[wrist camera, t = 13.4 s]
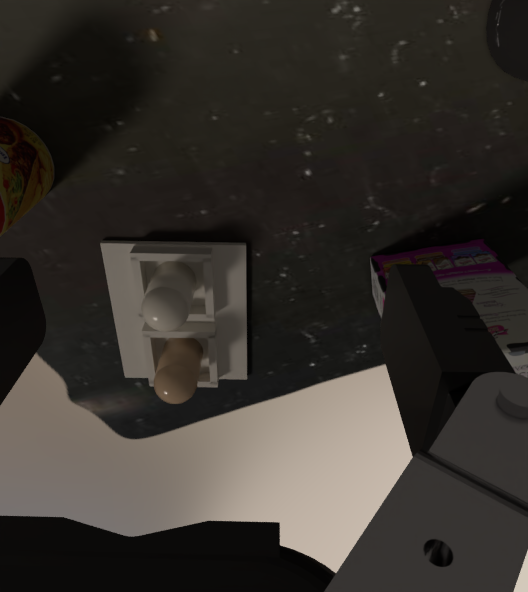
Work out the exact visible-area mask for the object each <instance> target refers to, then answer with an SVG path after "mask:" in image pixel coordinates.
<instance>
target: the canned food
mask: <svg viewBox="0 0 528 592" xmlns="http://www.w3.org/2000/svg"><path fill="white" fill-rule="evenodd" d="M53 181H54V164H53V160H52V156H51V154H50V152H49V150H48V149H47V147H46V145H45V144H44V142H43V141H42V140H41V139H40V138H39V136H38V135H37V134H36V133H35V132H33V131H32V130H31V129H29V128H28V127H27V126H25V125H23V124H21V123H19V122H17V121H15V120H13V119H8V118H4V117H0V236H1V235H2V234H3V233H5V232H6V231H7V230H8V229H9V228H10V227H11V226H12V225H14V224H15V223H16V222H17V221H18V220H19V219H20V218H21V217H22V216H24V215H25V214H26V213H27V212H28V211H29V210H30V209H31V208H32V207H34V206H35V205H36V204H37V203H38V202H39V201H40V200H41V199H43V198H44V197H45V196H46V194H47V193H48V192H49V190H50V189H51V187H52V184H53Z"/></svg>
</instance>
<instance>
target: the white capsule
mask: <svg viewBox="0 0 528 592" xmlns="http://www.w3.org/2000/svg"><path fill="white" fill-rule="evenodd" d="M196 283H197V280H196V276H195V273H194V272H193V270H192V269H191V268H190V267H189V266H187V265H186V264H184V263H182V262H178V261H167V262H164V263H162V264H160V265H159V266H157V268H156V269H155V270H154V273H153V275H152V278H151V280H150V283H149V285H148V288H147V290H146V293H145V295H144V298H143V300H142V305H141V311H142V315H143V318H144V320H145V321H146V323H147V324H148V325H149V326H151V327H152V328H154V329H155V330H158V331H163V332H168V331H173V330H176V329H178V328H179V327H181V326H182V325H183V324H184V323H185V322H186V320H187V319H188V316H189V313H190V309H191V305H192V301H193V297H194V292H195V288H196Z"/></svg>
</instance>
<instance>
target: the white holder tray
mask: <svg viewBox="0 0 528 592" xmlns="http://www.w3.org/2000/svg"><path fill="white" fill-rule="evenodd" d="M100 244H101V250H102V255H103V261H104V266H105V272H106V277H107V282H108V288H109V293H110V299H111V304H112V310H113V315H114V320H115V326H116V331H117V337H118V342H119V348H120V353H121V358H122V364H123V369H124V375H125V377H127V378H149V385H150V386H154V377H155V373H156V370H157V367H158V363H159V360H160V357H161V354H162V350H163V347H164V344H165V342H166V341H167V340H168V339H169V338H194V339H196V340H197V341H198V342H199V343H200V344H201V346H202V348H203V357H202V363H201V368H200V374H199V379H198V384H197V387H218V382H219V379H247V288H246V243H229V242H165V241H101V243H100ZM167 261H178V262H182V263H184V264H186V265H187V266H189V267H190V268H191V269H192V270H193V272H194V273H195V276H196V280H197V283H196V288H195V292H194V297H193V301H192V305H191V309H190V313H189V316H188V319H187V320H186V322H185V323H184V324H183V325H182V326H181V327H179V328H178V329H176V330H173V331H168V332H163V331H158V330H155V329H154V328H152V327H151V326H149V325H148V324H147V323H146V321H145V320H144V318H143V315H142V311H141V305H142V300H143V298H144V295H145V293H146V290H147V288H148V285H149V283H150V280H151V278H152V275H153V273H154V270H155V269H156V268H157V266H159V265H160V264H162V263H164V262H167Z"/></svg>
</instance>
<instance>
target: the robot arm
mask: <svg viewBox="0 0 528 592" xmlns="http://www.w3.org/2000/svg"><path fill="white" fill-rule="evenodd" d="M486 30H487V42H488V46H489V49H490V53H491V55H492V57H493V58H494V60H495V62H496V64H497V65H498V66H499V67H500V68H501V69H502V70H503V71H504V72H506V73H508V74H510V75H511V76H513V77H516V78H519V79H522V80H525V81H527V82H528V0H492V3H491V6H490V9H489V12H488V19H487V27H486ZM45 332H46V319H45V314H44V311H43V307H42V304H41V300H40V297H39V293H38V290H37V287H36V283H35V280H34V276H33V273H32V269H31V267H30V264H29V263H28V261H27V260H26V259H24V258H0V405H1V404H2V402H3V401H4V399H5V398H6V396H7V395H8V393H9V392H10V390H11V389H12V387H13V386H14V384H15V383H16V381H17V380H18V378H19V377H20V375H21V374H22V372H23V371H24V369H25V368H26V366H27V365H28V363H29V362H30V360H31V359H32V357H33V356H34V354H35V353H36V352H37V350H38V349H39V347H40V346H41V344H42V342H43V340H44V337H45ZM380 341H381V349H382V353H383V356H384V360H385V363H386V366H387V370H388V373H389V377H390V380H391V384H392V387H393V391H394V394H395V397H396V401H397V404H398V408H399V411H400V415H401V418H402V421H403V425H404V428H405V432H406V435H407V439H408V442H409V445H410V449H411V452H412V456H413V458H412V460H411V461H410V463H409V464H408V466H407V467H406V469H405V470H404V472H403V473H402V475H401V476H400V478H399V479H398V481H397V482H396V484H395V485H394V487H393V488H392V490H391V491H390V493H389V494H388V496H387V498H386V499H385V500H384V502H383V503H382V505H381V506H380V508H379V510H378V511H377V513H376V514H375V516H374V517H373V519H372V520H371V522H370V523H369V525H368V526H367V528H366V529H365V531H364V532H363V534H362V535H361V537H360V538H359V540H358V541H357V543H356V544H355V546H354V547H353V549H352V550H351V552H350V553H349V555H348V557H347V558H346V560H345V561H344V563H343V564H342V566H341V567H340V569H339V570H338V572H337V573H335V572H333V571H331V570H330V569H329V568H328V567H326V566H325V565H323V564H322V563H320V562H318V561H317V560H315V559H313V558H311V557H309V556H307V555H305V554H303V553H300V552H298V551H295V550H293V549H290V548H287V547H283V546H280V539H279V538H280V534H279V533H280V528H279V527H280V525H279V523H276V522H236V521H235V522H234V521H233V522H232V521H206V522H202V523H197V524H192V525H187V526H183V527H178V528H174V529H169V530H165V531H160V532H155V533H151V534H146V535H142V536H135V537H128V536H123V535H120V534H117V533H113V532H110V531H107V530H103V529H100V528H97V527H93V526H90V525H87V524H83V523H81V522H77V521H74V520H71V519H67V518H64V517H30V516H29V517H28V516H0V592H513V591H514V588H515V585H516V582H517V579H518V576H519V573H520V570H521V568H522V564H523V562H524V559H525V556H526V553H527V550H528V378H527V377H525V376H522V375H518V374H516V372H515V371H514V369H513V368H512V366H511V364H510V363H509V361H508V360H507V358H506V356H505V355H504V353H503V352H502V350H501V348H500V347H499V345H498V344H497V342H496V340H495V339H494V337H493V336H492V334H491V332H488V328H487V326H486V324H485V323H484V321H483V320H482V319H480V315H479V313H478V312H477V310H476V308H475V307H474V305H473V304H472V302H471V300H469V299H468V298H466V297H465V296H464V295H462V294H461V293H460V292H458V291H457V290H456V289H454V288H453V287H441V286H440V284H439V282H438V280H437V278H436V277H435V275H434V273H433V271H432V269H431V268H430V266H429V265H427V264H393V265H392V266H391V268H390V271H389V276H388V282H387V288H386V294H385V301H384V307H383V313H382V319H381V327H380Z"/></svg>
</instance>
